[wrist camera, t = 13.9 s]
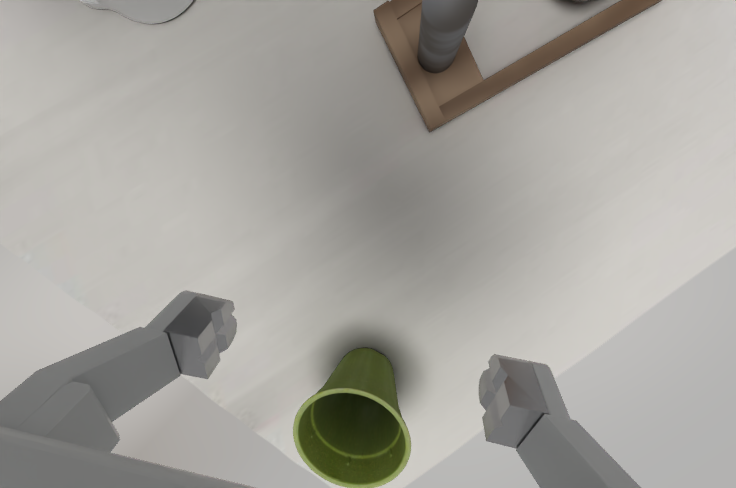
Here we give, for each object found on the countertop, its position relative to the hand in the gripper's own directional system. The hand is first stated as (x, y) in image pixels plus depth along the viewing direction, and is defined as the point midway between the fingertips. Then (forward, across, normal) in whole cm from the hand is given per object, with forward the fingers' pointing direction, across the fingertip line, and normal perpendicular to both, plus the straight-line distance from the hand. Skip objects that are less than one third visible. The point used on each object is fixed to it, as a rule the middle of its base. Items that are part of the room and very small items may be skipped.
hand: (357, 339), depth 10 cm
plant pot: (+20, -1, +29) cm, 35 cm away
